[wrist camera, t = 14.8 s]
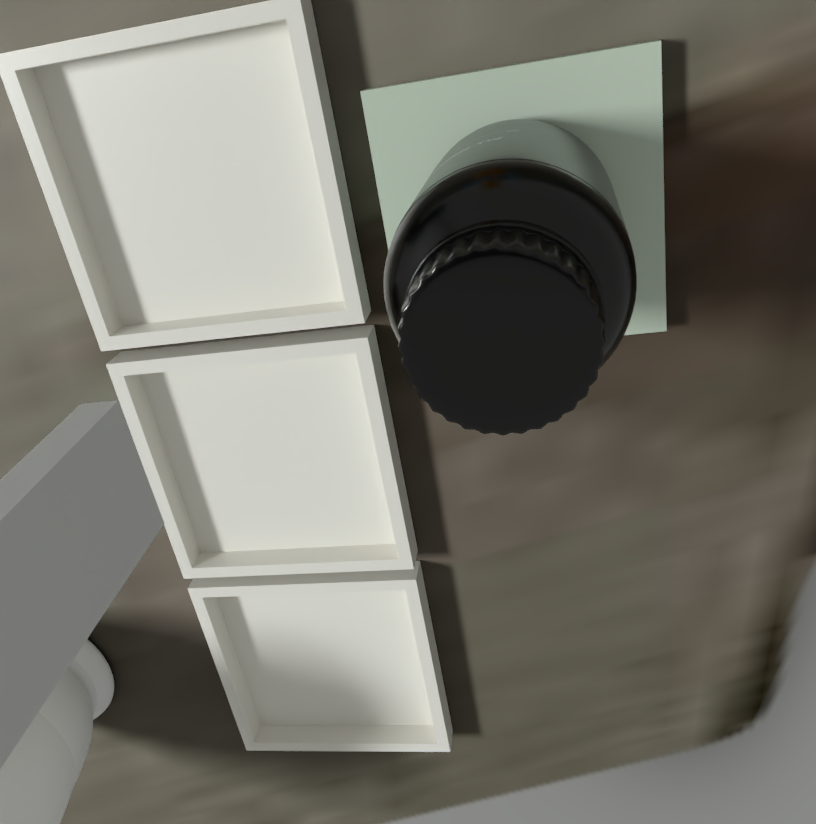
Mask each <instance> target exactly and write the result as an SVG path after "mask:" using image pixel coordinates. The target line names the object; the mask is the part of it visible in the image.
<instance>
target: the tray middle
mask: <svg viewBox="0 0 816 824" xmlns="http://www.w3.org/2000/svg"><path fill="white" fill-rule="evenodd" d="M106 366H107V369H108V371H109V374H110V377H111V380H112V382H113V385H114V388H115V391H116V393H117V396H118V399H119V402H120V404H121V407H122V410H123V413H124V415H125V418H126V421H127V424H128V426H129V429H130V432H131V435H132V437H133V440H134V443H135V446H136V448H137V451H138V454H139V457H140V459H141V462H142V465H143V467H144V470H145V473H146V475H147V478H148V481H149V483H150V486H151V489H152V492H153V494H154V497H155V500H156V502H157V505H158V508H159V510H160V513H161V516H162V518H163V521H164V525H165V528H166V531H167V534H168V536H169V539H170V542H171V545H172V547H173V550H174V553H175V555H176V558H177V561H178V564H179V566H180V569H181V572H182V575H183V577H184V579H188V578H212V577H237V576H261V575H285V574H310V573H334V572H358V571H383V570H407V569H414V566H415V562H416V557H417V552H418V548H417V543H416V538H415V533H414V528H413V523H412V517H411V512H410V507H409V502H408V497H407V492H406V487H405V481H404V476H403V471H402V466H401V461H400V456H399V451H398V445H397V440H396V435H395V430H394V425H393V420H392V415H391V409H390V404H389V399H388V394H387V389H386V384H385V378H384V373H383V368H382V363H381V358H380V353H379V348H378V342H377V337H376V332H375V327H374V325H365V326H355V327H346V328H337V329H327V330H318V331H308V332H299V333H290V334H280V335H271V336H261V337H252V338H243V339H233V340H224V341H214V342H205V343H196V344H186V345H177V346H167V347H158V348H149V349H139V350H130V351H121V352H120V353H119V354H118V355H116V356H115V357H114V358H113V359H112V360H111V361H109V362H108V363H107V364H106Z"/></svg>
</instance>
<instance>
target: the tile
mask: <svg viewBox="0 0 816 824" xmlns="http://www.w3.org/2000/svg"><path fill="white" fill-rule="evenodd" d="M360 94H361V99H362V105H363V111H364V116H365V122H366V128H367V133H368V139H369V144H370V150H371V156H372V161H373V167H374V173H375V178H376V184H377V189H378V195H379V201H380V206H381V212H382V218H383V223H384V229H385V234H386V240H387V246H388V250H389V248H390V245H391V242H392V239H393V237H394V234H395V232H396V230H397V228H398V226H399V224H400V222H401V220H402V219H403V217H404V215H405V214H406V212H407V211H408V209H409V208H410V206H411V204H412V203H413V201H414V200H415V198H416V197H417V195H418V194H419V192H420V190H421V189H422V187H423V186H424V184H425V183H426V181H427V180H428V178H429V177H430V175H431V174H432V172H433V170H434V169H435V167H436V166H437V165H438V163H439V162H440V161H441V159H442V158H443V157H444V156H445V154H446V153H447V152H448V151H449V150H450V149H451V148H452V147H453V146H454V145H455V144H457V143H458V142H459V141H460V140H461V139H463V138H464V137H466V136H467V135H469V134H470V133H472V132H474V131H476V130H477V129H480V128H482V127H484V126H486V125H489V124H492V123H495V122H500V121H504V120H512V119H531V120H538V121H544V122H547V123H551V124H554V125H556V126H559V127H561V128H563V129H565V130H567V131H569V132H570V133H572V134H573V135H575V136H576V137H578V138H579V139H580V140H582V141H583V142H584V143H585V144H586V145H587V146H588V147H589V148H590V149H591V150H592V151H593V152H594V153H595V155H596V156H597V157H598V159H599V160H600V162H601V163H602V165H603V167H604V168H605V170H606V172H607V174H608V177H609V179H610V181H611V184H612V186H613V189H614V192H615V195H616V198H617V201H618V204H619V208H620V211H621V214H622V217H623V220H624V223H625V226H626V229H627V232H628V235H629V238H630V241H631V244H632V248H633V253H634V257H635V265H636V274H637V290H636V300H635V305H634V309H633V313H632V316H631V320H630V323H629V325H628V327H627V330H626V332H625V334H624V335H631V334H641V333H652V332H662V331H667V322H666V268H665V214H664V160H663V106H662V52H661V40H652V41H646V42H640V43H634V44H628V45H622V46H616V47H610V48H605V49H599V50H593V51H587V52H581V53H575V54H569V55H563V56H557V57H551V58H545V59H540V60H534V61H528V62H522V63H516V64H510V65H504V66H498V67H492V68H486V69H480V70H475V71H469V72H463V73H457V74H451V75H445V76H439V77H433V78H427V79H421V80H415V81H410V82H404V83H398V84H392V85H386V86H380V87H374V88H368V89H364V90H362V91H360Z"/></svg>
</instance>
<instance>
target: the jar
mask: <svg viewBox="0 0 816 824" xmlns="http://www.w3.org/2000/svg"><path fill="white" fill-rule="evenodd" d="M113 694H114V678H113V675H112V672H111V669H110V666H109V664H108V663H107V661H106V659H105V658H104V656H103V655H102V654H101V652H100V651H99V650H98V649H97V648H96V646H95V645H94V644H93V643H91V642H90V641H89V640H88V639H87V640H86V642H85V643H84V645H83V646H82V648H81V649H80V651H79V652H78V654H77V655H76V657H75V658H74V660H73V661H72V663H71V664H70V665H69V667H68V668H67V670H66V671H65V673H64V674H63V676H62V677H61V679H60V680H59V682H58V683H57V685H56V686H55V688H54V689H53V691H52V692H51V694H50V695H49V697H48V698H47V700H46V701H45V703H44V704H43V706H42V707H41V709H40V710H39V712H38V713H37V715H36V716H35V718H34V719H33V721H32V722H31V724H30V725H29V727H28V728H27V730H26V731H25V733H24V734H23V736H22V737H21V739H20V740H19V742H18V743H17V745H16V746H15V748H14V749H13V751H12V752H11V754H10V755H9V757H8V758H7V760H6V761H5V763H4V764H3V766H2V767H1V769H0V824H60V822H61V820H62V817H63V815H64V812H65V810H66V807H67V804H68V802H69V799H70V796H71V792H72V789H73V787H74V785H75V783H76V781H77V779H78V776H79V774H80V772H81V769H82V767H83V764H84V761H85V759H86V756H87V752H88V749H89V745H90V741H91V735H92V727H93V720H94V719H95V718H97V717H98V716H100V715H101V714H102V713H103V712H104V711H105V710H106V709H107V707H108V706H109V704H110V703H111V701H112V698H113Z"/></svg>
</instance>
